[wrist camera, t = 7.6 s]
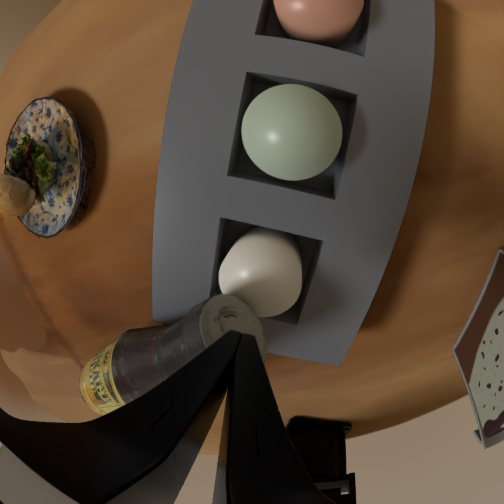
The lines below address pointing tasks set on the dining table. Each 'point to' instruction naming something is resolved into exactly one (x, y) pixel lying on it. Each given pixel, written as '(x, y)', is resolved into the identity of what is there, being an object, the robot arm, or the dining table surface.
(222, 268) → the cream button
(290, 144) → the sage button
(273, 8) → the panel
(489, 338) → the food container
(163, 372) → the sauce bottle
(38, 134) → the burger
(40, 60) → the dining table surface
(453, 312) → the dining table surface
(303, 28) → the terracotta button
